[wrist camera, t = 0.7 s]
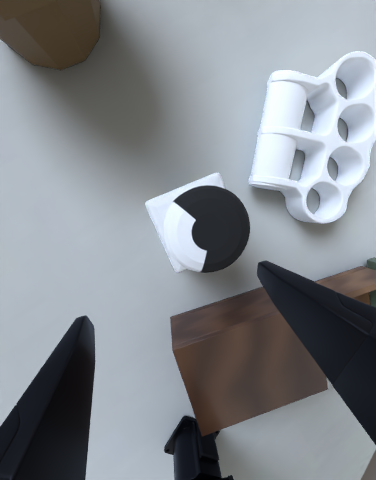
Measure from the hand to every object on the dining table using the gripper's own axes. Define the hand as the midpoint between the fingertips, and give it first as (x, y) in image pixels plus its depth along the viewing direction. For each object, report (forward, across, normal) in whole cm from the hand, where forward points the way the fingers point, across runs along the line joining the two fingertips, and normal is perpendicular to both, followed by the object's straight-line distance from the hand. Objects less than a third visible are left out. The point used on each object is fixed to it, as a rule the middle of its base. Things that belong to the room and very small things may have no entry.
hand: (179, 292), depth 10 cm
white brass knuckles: (+15, -21, -1) cm, 26 cm away
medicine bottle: (+14, -4, +4) cm, 16 cm away
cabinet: (+7, -7, +20) cm, 23 cm away
